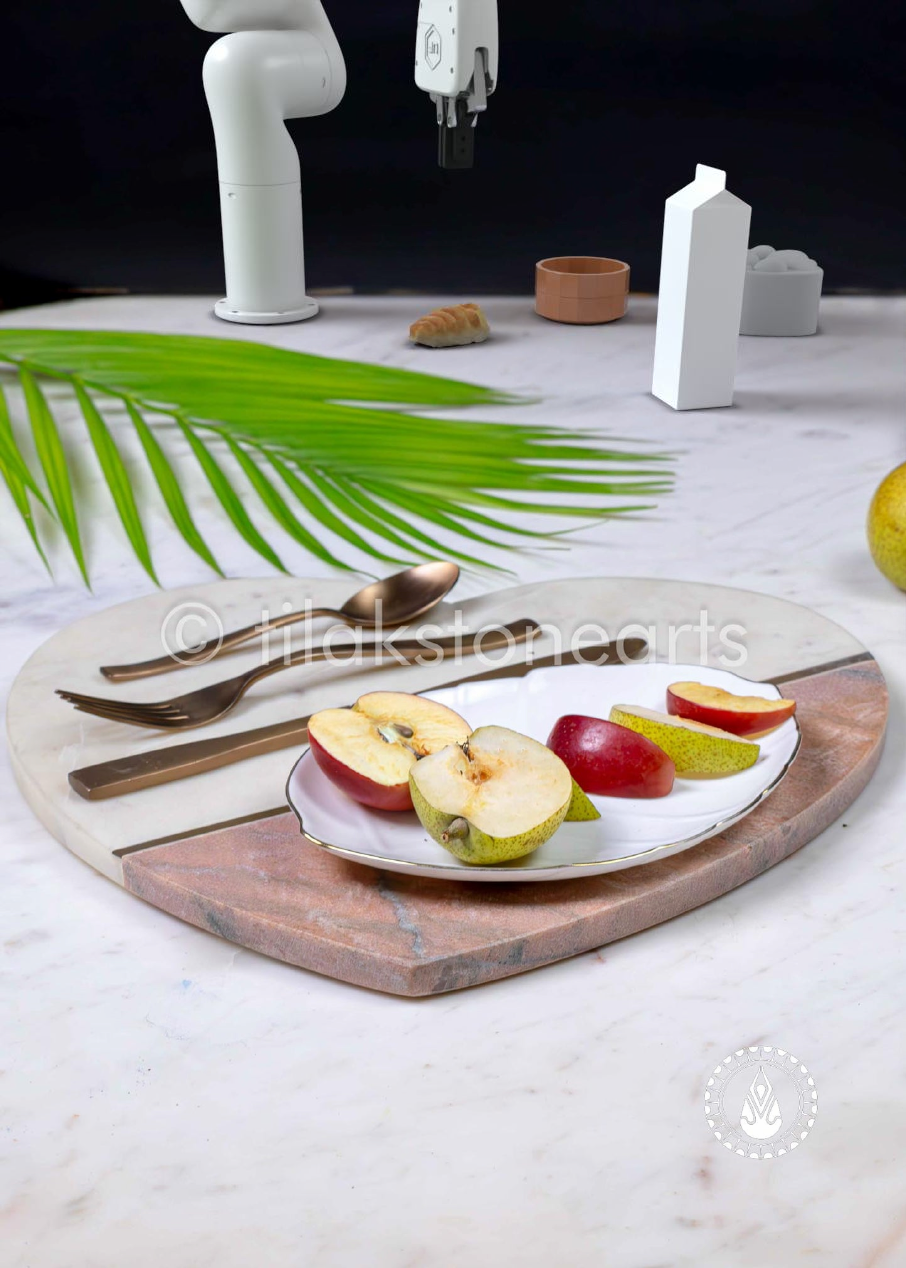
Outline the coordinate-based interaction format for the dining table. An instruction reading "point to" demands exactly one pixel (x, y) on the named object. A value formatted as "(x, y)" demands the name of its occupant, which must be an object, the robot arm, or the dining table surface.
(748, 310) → the lumpy-topped squat cylinder
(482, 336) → the pastry
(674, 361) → the milk
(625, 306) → the bowl
